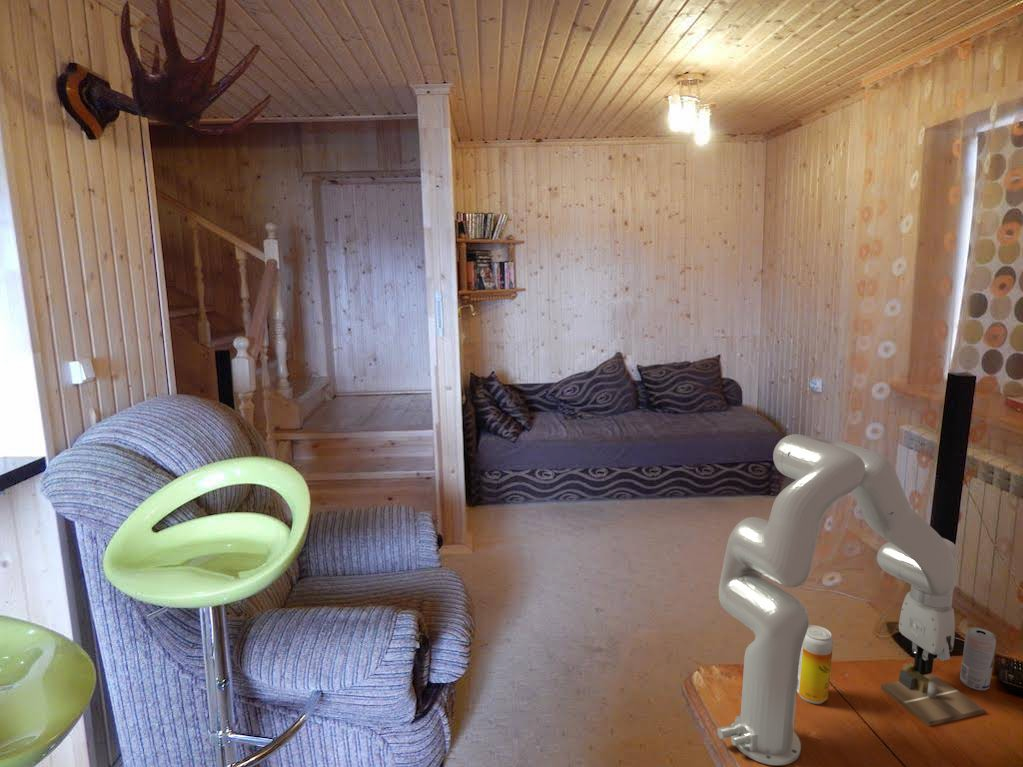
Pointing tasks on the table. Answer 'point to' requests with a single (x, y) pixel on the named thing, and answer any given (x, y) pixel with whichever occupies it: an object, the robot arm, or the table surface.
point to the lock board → (931, 700)
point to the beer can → (815, 665)
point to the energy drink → (978, 658)
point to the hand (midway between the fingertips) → (922, 671)
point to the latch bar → (917, 677)
